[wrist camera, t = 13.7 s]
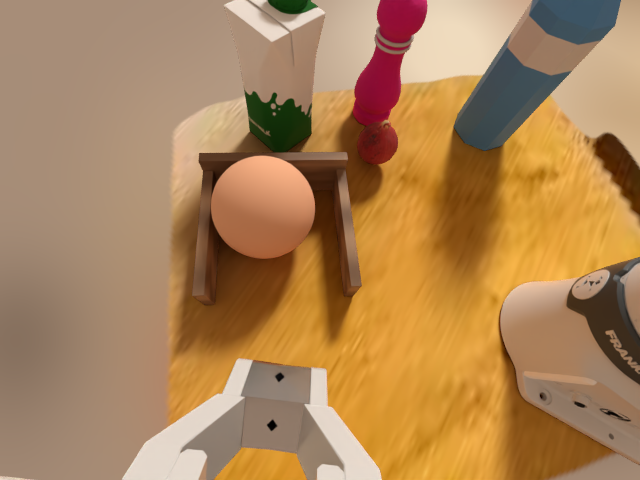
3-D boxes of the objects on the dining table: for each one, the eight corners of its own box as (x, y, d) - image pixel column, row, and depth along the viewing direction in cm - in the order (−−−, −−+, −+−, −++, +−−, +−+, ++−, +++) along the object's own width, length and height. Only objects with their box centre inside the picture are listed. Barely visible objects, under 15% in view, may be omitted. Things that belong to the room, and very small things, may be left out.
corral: (353, 295, 38) (365, 280, 31) (204, 305, 36) (185, 291, 29) (338, 183, 45) (346, 152, 38) (213, 185, 42) (199, 153, 36)
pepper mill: (356, 132, 49) (394, -9, 31) (345, 100, 52) (374, -47, 33) (396, 127, 50) (456, -12, 32) (383, 96, 53) (431, -47, 35)
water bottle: (498, 112, 54) (651, -76, 31) (510, 153, 50) (693, -28, 27) (449, 107, 53) (568, -89, 30) (457, 148, 49) (600, -41, 27)
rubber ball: (345, 174, 32) (318, 212, 43) (249, 113, 31) (247, 168, 42) (291, 268, 28) (276, 283, 39) (177, 201, 27) (196, 236, 38)
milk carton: (319, 134, 48) (336, -10, 30) (278, 164, 45) (268, 24, 27) (282, 104, 50) (277, -49, 32) (240, 130, 47) (208, -21, 29)
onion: (367, 181, 45) (382, 144, 38) (345, 154, 47) (355, 115, 39) (396, 165, 47) (415, 128, 40) (374, 140, 48) (388, 100, 41)
